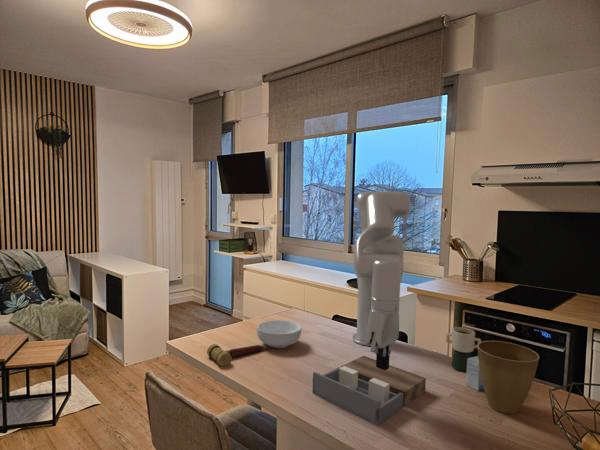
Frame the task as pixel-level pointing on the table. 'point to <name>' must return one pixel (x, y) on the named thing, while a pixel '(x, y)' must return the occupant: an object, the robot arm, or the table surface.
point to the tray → (355, 397)
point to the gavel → (230, 353)
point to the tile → (379, 390)
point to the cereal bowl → (279, 333)
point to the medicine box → (474, 374)
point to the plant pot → (506, 374)
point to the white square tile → (348, 377)
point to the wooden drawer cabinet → (390, 378)
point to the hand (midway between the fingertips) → (382, 367)
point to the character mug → (462, 346)
